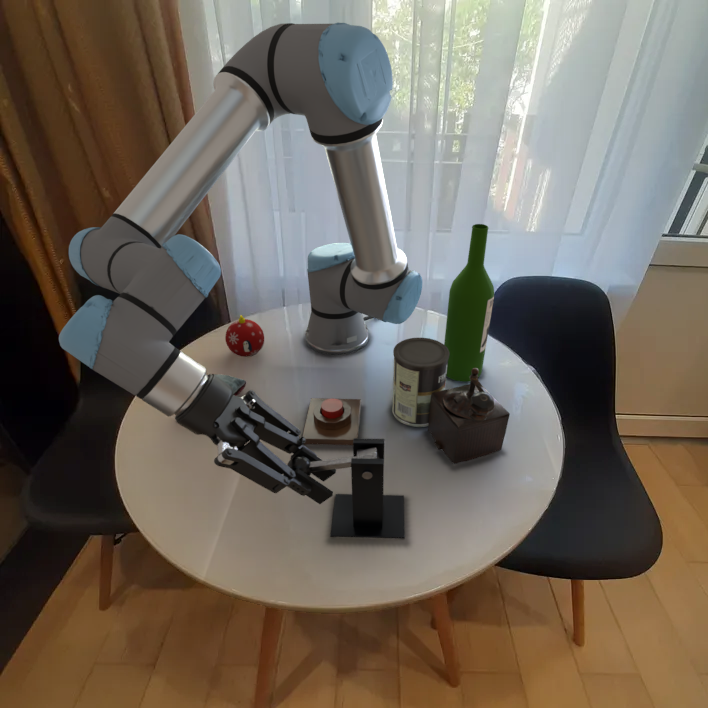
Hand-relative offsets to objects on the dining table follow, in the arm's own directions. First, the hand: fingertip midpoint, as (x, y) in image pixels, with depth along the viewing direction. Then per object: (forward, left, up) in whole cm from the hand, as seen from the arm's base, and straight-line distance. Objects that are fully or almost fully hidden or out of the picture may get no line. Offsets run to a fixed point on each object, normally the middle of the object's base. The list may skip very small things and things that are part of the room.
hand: (327, 486), depth 71 cm
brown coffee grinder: (-26, +10, -8) cm, 29 cm away
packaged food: (-7, -38, -8) cm, 40 cm away
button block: (-16, -14, -7) cm, 23 cm away
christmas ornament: (-23, -47, -8) cm, 53 cm away
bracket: (-3, +5, -7) cm, 9 cm away
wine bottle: (-48, -4, -8) cm, 49 cm away
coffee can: (-30, -4, -8) cm, 32 cm away
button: (-16, -14, -4) cm, 22 cm away
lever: (-1, +1, +3) cm, 3 cm away
